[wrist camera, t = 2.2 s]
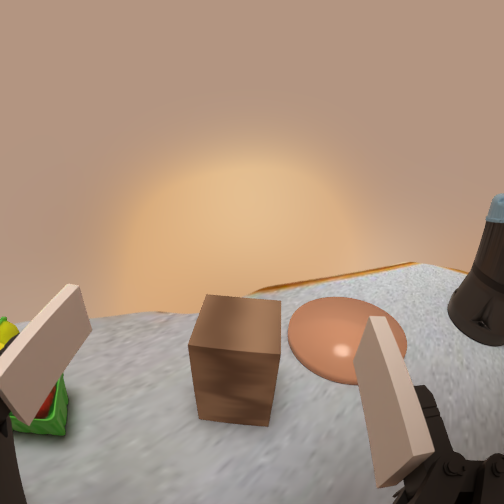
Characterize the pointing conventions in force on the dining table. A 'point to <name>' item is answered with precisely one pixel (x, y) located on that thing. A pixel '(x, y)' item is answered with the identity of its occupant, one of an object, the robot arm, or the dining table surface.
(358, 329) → the dish
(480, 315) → the robot arm
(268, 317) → the walnut block
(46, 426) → the fruit basket
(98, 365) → the dining table surface
